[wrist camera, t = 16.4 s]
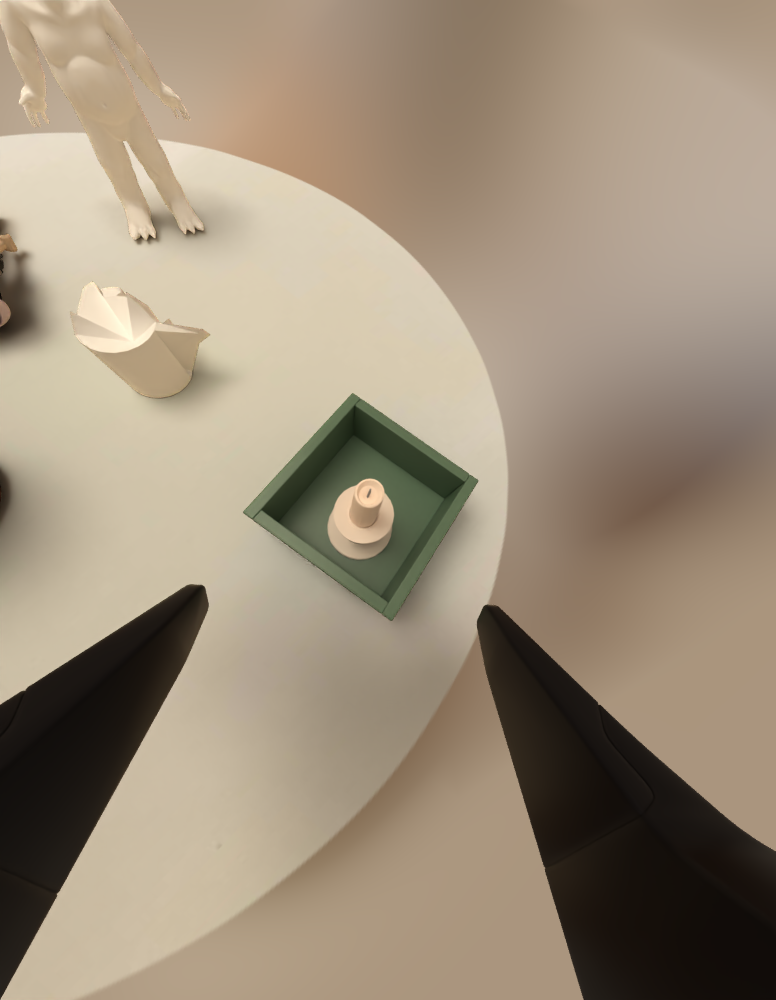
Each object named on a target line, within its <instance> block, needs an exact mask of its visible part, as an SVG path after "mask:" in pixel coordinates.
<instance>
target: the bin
mask: <svg viewBox="0 0 776 1000" xmlns="http://www.w3.org/2000/svg"><path fill="white" fill-rule="evenodd" d="M365 479H375V480H377V481H378V482H380V483H381V484H382V486H383V488H384V493H385V494H386V495H387V496H388V498H389V499H390V500H391V503H392V506H393V510H394V519H393V524H392V533H391V538H390V540H389V542H388V544H387V546H386V547H385V548H384V549H383V551H381V552H380V553H379V554H377V555H376V556H374V557H372V558H369V559H365V560H355V559H349V558H347V557H345V556H343V555H341V554H340V553H339V552H338V551H337V550H336V549H335V548H334V546H333V545H332V543H331V542H330V539H329V536H328V526H327V525H328V520H329V516H330V515H331V513H332V511H333V509H334V506H335V503H336V501H337V499H338V497H339V496H340V495H341V494H342V493H343V492H344V491H345V490H347V489H348V488H350V487H353V486H356V485H358V484H359V483H360V482H361V481H362V480H365ZM477 483H478V480H477V479H476V478H474V477H473V476H471V475H469V473H467V472H466V471H464V470H463V469H461V468H460V467H458V466H457V465H456V464H454V463H453V462H451V461H450V460H448V459H447V458H446V457H444V456H443V455H441V454H440V453H438V452H437V451H435V450H434V449H433V448H431V447H430V446H428V445H427V444H425V443H424V442H423V441H421V440H420V439H418V438H417V437H415V436H414V435H412V434H411V433H410V432H408V431H407V430H405V429H404V428H402V427H401V426H400V425H398V424H397V423H395V422H394V421H392V420H391V419H389V418H388V417H387V416H385V415H384V414H382V413H381V412H379V411H378V410H377V409H375V408H374V407H372V406H371V405H369V404H368V403H366V402H365V401H364V400H362V399H360V398H359V397H358V396H356V395H355V394H353V393H352V394H351V395H350V396H349V397H348V398H347V400H346V401H345V402H344V403H343V404H342V405H341V406H340V407H339V408H338V409H337V410H336V412H335V413H334V414H333V415H332V416H331V417H330V418H329V419H328V420H327V421H326V422H325V423H324V425H323V426H322V427H321V428H320V429H319V430H318V431H317V432H316V433H315V434H314V435H313V437H312V438H311V439H310V440H309V441H308V442H307V443H306V444H305V445H304V446H303V447H302V448H301V450H300V451H299V452H298V453H297V454H296V455H295V456H294V457H293V458H292V459H291V460H290V462H289V463H288V464H287V465H286V466H285V467H284V468H283V469H282V470H281V471H280V472H279V473H278V475H277V476H276V477H275V478H274V479H273V480H272V481H271V482H270V483H269V484H268V485H267V487H266V488H265V489H264V490H263V491H262V492H261V493H260V494H259V495H258V496H257V497H256V499H255V500H254V501H253V502H252V503H251V504H250V505H249V506H248V507H247V508H246V509H245V510H244V512H243V513H244V514H245V515H247V516H248V517H249V518H251V519H252V520H254V521H255V522H256V523H258V524H259V525H260V526H262V527H263V528H265V529H266V530H267V531H269V532H270V533H271V534H273V535H274V536H275V537H277V538H278V539H280V540H281V541H282V542H284V543H285V544H286V545H288V546H289V547H291V548H292V549H293V550H295V551H296V552H297V553H299V554H300V555H301V556H303V557H304V558H306V559H307V560H308V561H310V562H311V563H312V564H314V565H315V566H317V567H318V568H319V569H321V570H322V571H323V572H325V573H326V574H327V575H329V576H330V577H332V578H333V579H334V580H336V581H337V582H338V583H340V584H341V585H343V586H344V587H345V588H347V589H348V590H349V591H351V592H352V593H353V594H355V595H356V596H358V597H359V598H360V599H362V600H363V601H364V602H366V603H367V604H369V605H370V606H371V607H373V608H374V609H375V610H377V611H378V612H379V613H381V614H382V615H384V616H385V617H386V618H388V619H389V620H390V621H392V620H393V619H394V617H395V616H396V614H397V612H398V611H399V609H400V607H401V606H402V604H403V603H404V601H405V599H406V598H407V596H408V595H409V593H410V591H411V590H412V588H413V586H414V585H415V583H416V582H417V580H418V578H419V577H420V575H421V573H422V572H423V570H424V569H425V567H426V565H427V564H428V562H429V560H430V559H431V557H432V556H433V554H434V552H435V551H436V549H437V547H438V546H439V544H440V543H441V541H442V539H443V538H444V536H445V535H446V533H447V531H448V530H449V528H450V526H451V525H452V523H453V522H454V520H455V518H456V517H457V515H458V513H459V512H460V510H461V509H462V507H463V505H464V504H465V502H466V500H467V499H468V497H469V496H470V494H471V492H472V491H473V489H474V487H475V486H476V484H477Z"/></svg>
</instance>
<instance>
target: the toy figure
mask: <svg viewBox="0 0 776 1000" xmlns="http://www.w3.org/2000/svg"><path fill="white" fill-rule="evenodd" d="M4 250H6V251H10V252H16V251H17V247H16V245H15V244H14V242H13V240H12V238H11V236H10V235H8V234H7V233H6V236H4V235H0V253H1V252H2V251H4ZM2 257H3V256H2V254H1V255H0V270H1V271H2V269H3V268H4V264H3V261H2V259H1V258H2ZM2 273H3V271H2ZM1 275H2V274H1ZM10 316H11V312H10V310H9V307H8V306H7V304H6V303H5V302H4V301H2V296H1V293H0V327H1V326H3V325H4V324H5V323H6V322H7V321H8V320H9V319H10Z"/></svg>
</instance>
